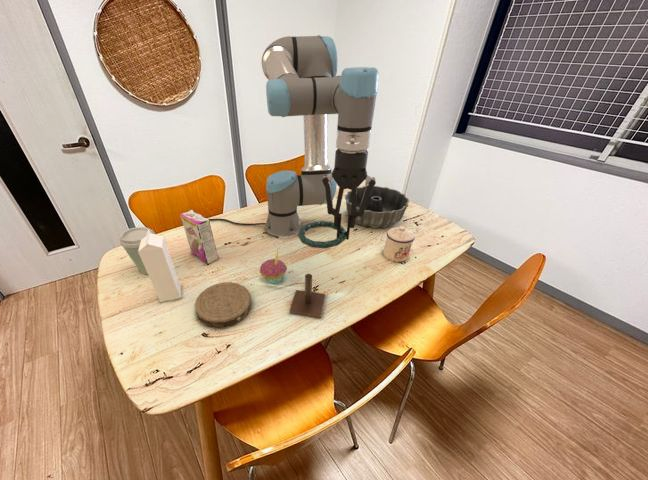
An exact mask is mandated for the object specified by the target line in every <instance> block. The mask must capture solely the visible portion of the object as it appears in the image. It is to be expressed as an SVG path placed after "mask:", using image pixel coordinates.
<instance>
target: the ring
mask: <svg viewBox="0 0 648 480" xmlns="http://www.w3.org/2000/svg"><path fill="white" fill-rule="evenodd" d="M318 228H329V229H332V230H335V231H337V227H334V221H329V220H328V221H325V220H318V221H313V222H308V223H307V224H305V225H302V226H301V229H300V231H299V232H298V233H297V237H298V239H299V241H300V242H301V243H302V245H306V246H308V247H310V248H313V249H328V248H329V249H330V248H335V247H338V246H339V245H340V244H342V243H344V242H345V241H346V233H347V229H345V227H343V225H341V227H340V236H339V237H338V238H337V237H335V239H332V240H331V239H330V240H326V241H318V240H313V239H310V238H308V237H307V236H306V233H307V232H308V231H310V230H312V229H318Z"/></svg>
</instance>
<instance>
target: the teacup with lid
mask: <svg viewBox="0 0 648 480" xmlns="http://www.w3.org/2000/svg"><path fill="white" fill-rule="evenodd" d="M415 240H416V235H415V234H414V232H413V231H411V230H410V229H407V228H406V227H405V226H403V225H401V226H398V227H392V228H389V230H387V231H386V239H385V243H384V246H383V247H384V248H383V255H384V256H385V257H386V258H387V259H390V260H392V261H393V262H395V263H401V262H405V261H406V260H408V258H409V255H410V252H411V248H412V245H413V243H414V241H415Z"/></svg>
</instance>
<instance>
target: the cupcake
mask: <svg viewBox="0 0 648 480" xmlns="http://www.w3.org/2000/svg"><path fill="white" fill-rule="evenodd" d="M278 257H279V251H276V253H275V258H271V259H268V260H265V261H264V262H262V263H261V266H260V269H259V274H260V275H261V276H262V277H263V278H265V279H266V281H267V282H268V283H269V284H270V285H273V284H277V283H279V282H281V281H282V279H283V277H284V276H285V275H286V273H287V270H288V267H287V265H286V264H285V262H283V261H282V260H280V259H278Z"/></svg>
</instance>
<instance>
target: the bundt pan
mask: <svg viewBox="0 0 648 480" xmlns="http://www.w3.org/2000/svg"><path fill="white" fill-rule="evenodd" d="M365 187H366V185H364V186H362V187H360V186H359V187H358V188H357V195H356V210H359V207H360V204H361V201H362V197H363V194H364V191H365ZM344 200H345V205H346V212H347V216H348V215H349V214H351V190H347V192H346V194H345V196H344ZM409 203H410V199H409V198H408V197H407V195H406V194H404V193H402V192H400V191H399V190H397V189H393V188H389V187H387V186H386V187H385V186H384V187H382V186H379V185H374V187H373V188H372V189H371V191H370V195H369V198H368V201H367V204H366V207H365V210H364V214H363V216H361V217H360V216H358V217H356V219H355V224H357V225H362V227H365V228H367V227H370V228H372V229H378V228H381V229H385V228H386V227H392V226H394V225H395V224H396V223H398V222H400V221H401V220H402V219H403V217H404V214H405V212H406V210H407V208H408V207H409Z"/></svg>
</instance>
